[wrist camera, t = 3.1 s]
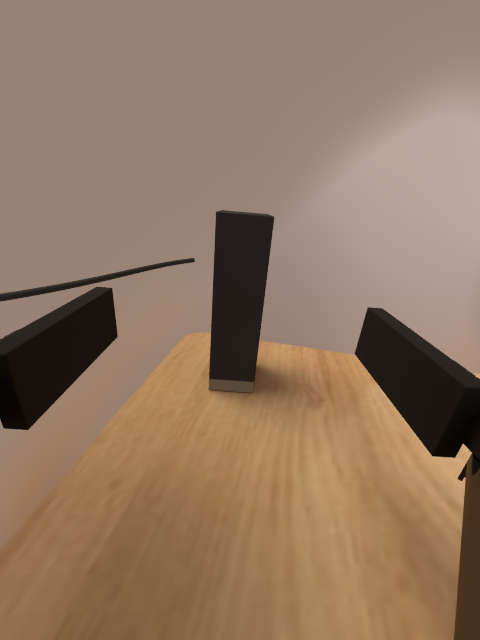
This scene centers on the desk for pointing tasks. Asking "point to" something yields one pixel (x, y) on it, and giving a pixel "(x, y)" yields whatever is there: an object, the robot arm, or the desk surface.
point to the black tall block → (238, 297)
